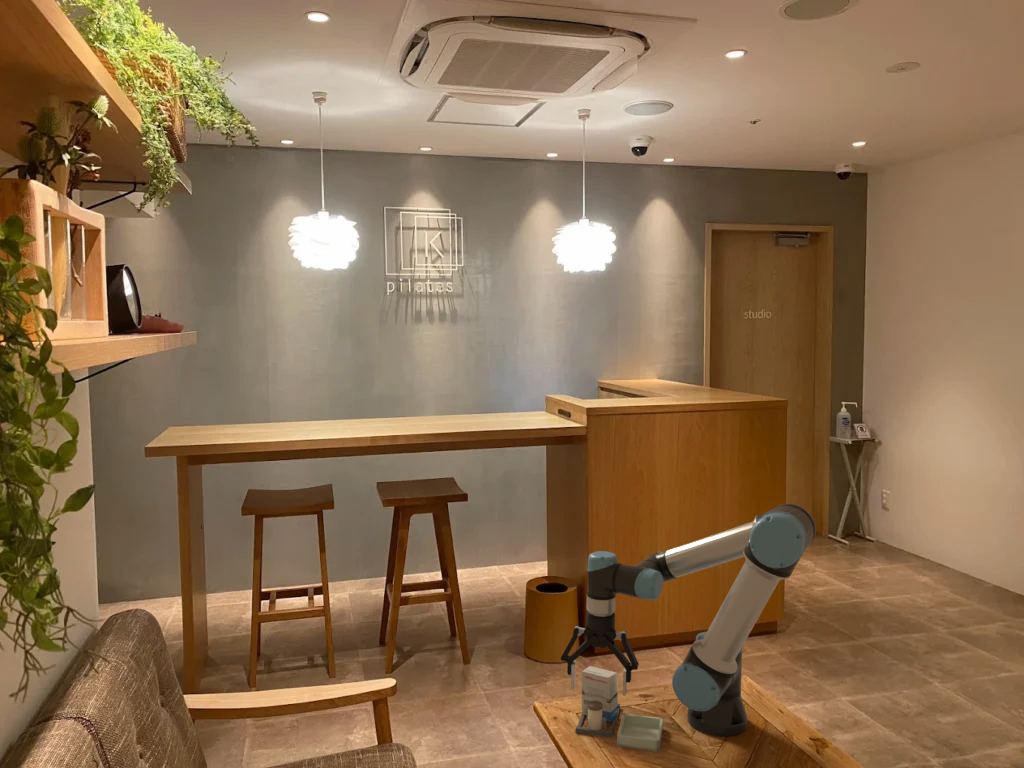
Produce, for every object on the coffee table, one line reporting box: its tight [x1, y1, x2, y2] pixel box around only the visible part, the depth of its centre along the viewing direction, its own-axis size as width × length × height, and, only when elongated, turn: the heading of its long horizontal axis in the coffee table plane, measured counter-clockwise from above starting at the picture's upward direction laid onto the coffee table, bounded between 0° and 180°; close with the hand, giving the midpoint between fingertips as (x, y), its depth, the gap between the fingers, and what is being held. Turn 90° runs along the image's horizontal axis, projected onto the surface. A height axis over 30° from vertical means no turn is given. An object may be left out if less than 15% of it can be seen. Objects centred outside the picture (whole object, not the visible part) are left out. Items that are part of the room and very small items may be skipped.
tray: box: [616, 712, 664, 753], centre depth 206 cm, size 10×12×3 cm
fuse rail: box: [575, 703, 621, 739], centre depth 215 cm, size 9×16×2 cm, turn 165°
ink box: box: [581, 665, 619, 723], centre depth 216 cm, size 9×5×12 cm, turn 57°
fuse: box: [587, 701, 603, 730], centre depth 209 cm, size 4×4×7 cm
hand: (598, 690), depth 217 cm, fingers open, 13 cm apart
